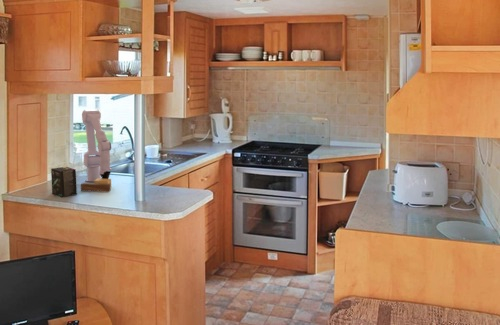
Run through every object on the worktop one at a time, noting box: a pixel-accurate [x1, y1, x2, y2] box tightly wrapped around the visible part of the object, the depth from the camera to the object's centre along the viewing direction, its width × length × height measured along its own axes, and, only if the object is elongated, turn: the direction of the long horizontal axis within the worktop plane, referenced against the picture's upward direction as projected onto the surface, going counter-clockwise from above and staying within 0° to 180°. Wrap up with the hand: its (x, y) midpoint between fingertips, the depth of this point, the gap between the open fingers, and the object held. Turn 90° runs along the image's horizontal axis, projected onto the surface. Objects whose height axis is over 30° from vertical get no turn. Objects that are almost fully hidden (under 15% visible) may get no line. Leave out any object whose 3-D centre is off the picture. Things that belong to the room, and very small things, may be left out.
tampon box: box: [50, 166, 78, 198], centre depth 278 cm, size 11×9×15 cm
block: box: [93, 177, 112, 189], centre depth 296 cm, size 6×8×5 cm
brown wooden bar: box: [80, 182, 111, 193], centre depth 289 cm, size 3×16×4 cm, turn 89°
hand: (105, 183), depth 301 cm, fingers closed
